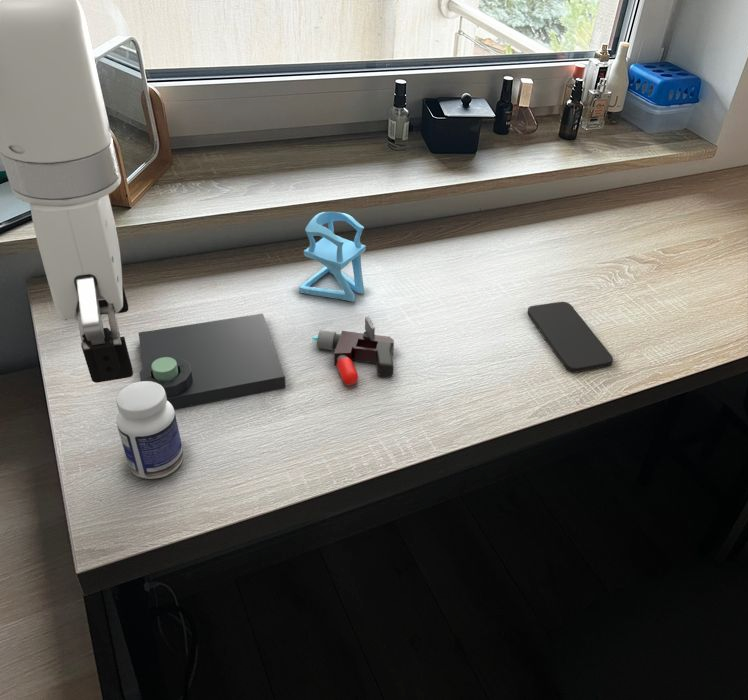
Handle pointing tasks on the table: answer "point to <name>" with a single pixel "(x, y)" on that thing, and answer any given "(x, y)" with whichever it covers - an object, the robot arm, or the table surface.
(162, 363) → the button
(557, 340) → the phone
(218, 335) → the dark grey button base
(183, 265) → the table surface
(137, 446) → the pill bottle
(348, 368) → the toy gun
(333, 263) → the chair
